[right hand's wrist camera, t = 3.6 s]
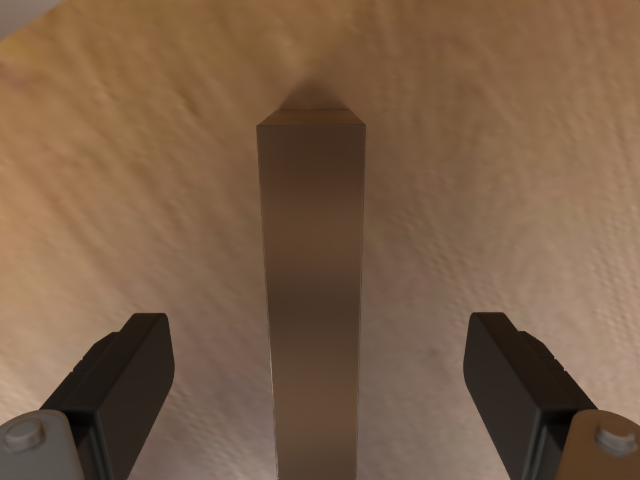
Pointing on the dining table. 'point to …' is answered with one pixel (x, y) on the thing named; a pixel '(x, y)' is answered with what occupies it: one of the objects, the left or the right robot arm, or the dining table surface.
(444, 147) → the dining table surface
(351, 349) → the post
